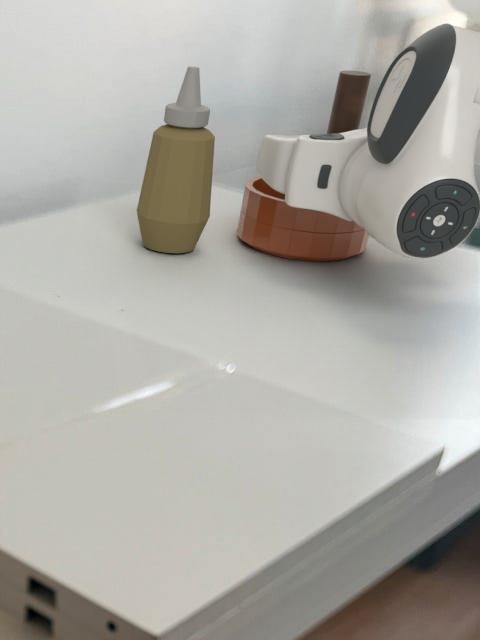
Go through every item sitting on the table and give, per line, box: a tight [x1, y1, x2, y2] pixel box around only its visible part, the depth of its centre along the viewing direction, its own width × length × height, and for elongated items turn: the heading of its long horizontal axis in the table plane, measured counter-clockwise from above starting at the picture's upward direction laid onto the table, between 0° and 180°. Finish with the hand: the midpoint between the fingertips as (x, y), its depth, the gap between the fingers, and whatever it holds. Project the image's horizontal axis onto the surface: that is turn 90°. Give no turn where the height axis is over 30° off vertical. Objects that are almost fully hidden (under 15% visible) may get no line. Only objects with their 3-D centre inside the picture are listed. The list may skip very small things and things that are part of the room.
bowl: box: [236, 175, 370, 262], centre depth 118 cm, size 15×15×6 cm
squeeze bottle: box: [136, 66, 216, 254], centre depth 111 cm, size 8×8×18 cm
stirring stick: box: [326, 70, 372, 134], centre depth 113 cm, size 3×3×16 cm
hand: (336, 145), depth 113 cm, fingers closed on stirring stick, 3 cm apart
